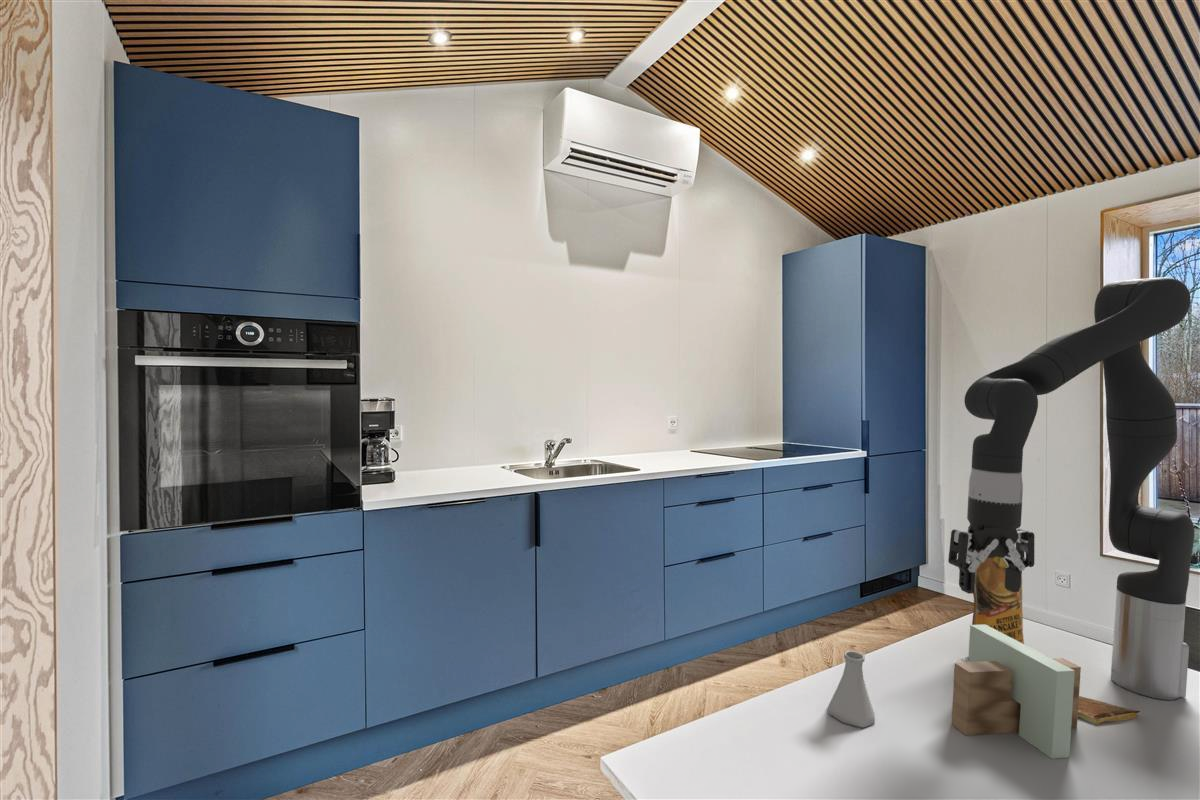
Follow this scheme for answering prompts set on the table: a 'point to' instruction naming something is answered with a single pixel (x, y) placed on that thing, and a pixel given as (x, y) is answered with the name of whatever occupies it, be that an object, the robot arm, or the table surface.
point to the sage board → (1031, 688)
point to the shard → (1102, 711)
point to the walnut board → (993, 698)
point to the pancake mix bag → (997, 599)
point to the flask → (852, 694)
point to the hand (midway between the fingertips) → (989, 591)
